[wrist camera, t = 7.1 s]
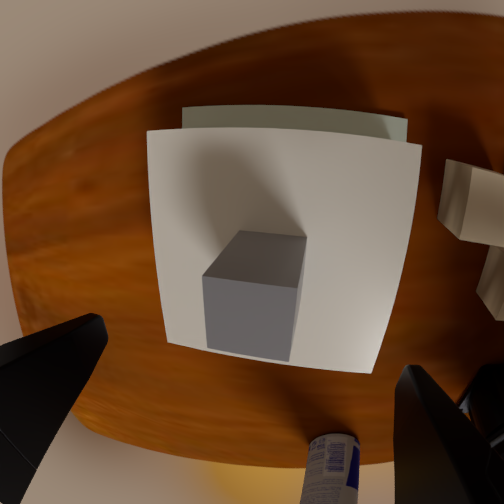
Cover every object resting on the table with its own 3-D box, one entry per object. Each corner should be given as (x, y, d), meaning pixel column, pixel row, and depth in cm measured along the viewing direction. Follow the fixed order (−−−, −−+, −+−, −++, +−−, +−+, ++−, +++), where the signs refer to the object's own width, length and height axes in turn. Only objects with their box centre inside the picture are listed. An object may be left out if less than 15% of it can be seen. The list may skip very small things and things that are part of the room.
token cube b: (483, 227, 16) (510, 248, 13) (436, 218, 17) (459, 239, 14) (493, 171, 15) (524, 182, 11) (445, 158, 16) (472, 167, 12)
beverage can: (302, 449, 29) (278, 563, 16) (320, 426, 27) (299, 558, 13) (346, 457, 28) (333, 567, 15) (368, 435, 26) (362, 561, 13)
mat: (370, 329, 21) (371, 332, 21) (193, 305, 24) (191, 308, 24) (405, 119, 15) (407, 119, 15) (184, 107, 18) (182, 107, 18)
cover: (363, 314, 20) (375, 438, 11) (202, 293, 23) (131, 392, 13) (391, 140, 16) (469, 155, 6) (197, 128, 18) (80, 138, 9)
